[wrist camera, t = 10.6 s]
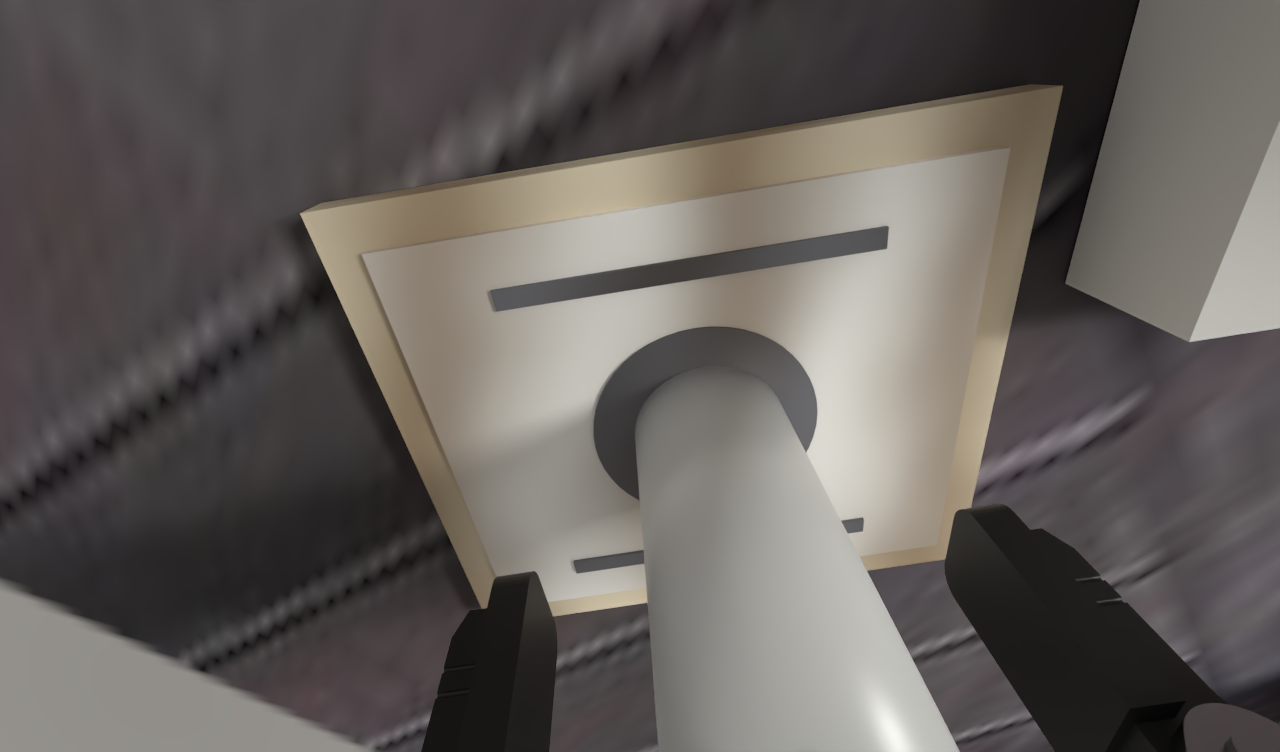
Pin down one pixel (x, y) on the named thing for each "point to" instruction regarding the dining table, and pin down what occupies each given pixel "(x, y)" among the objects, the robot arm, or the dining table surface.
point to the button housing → (1190, 173)
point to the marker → (761, 588)
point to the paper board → (699, 323)
